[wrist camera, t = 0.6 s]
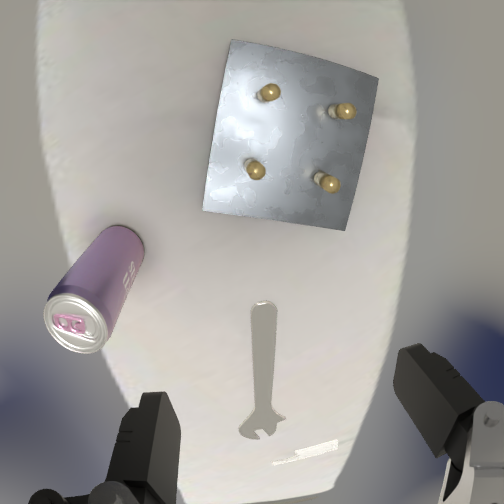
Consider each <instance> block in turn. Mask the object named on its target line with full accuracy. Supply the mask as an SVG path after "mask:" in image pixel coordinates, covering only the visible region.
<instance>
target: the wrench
mask: <svg viewBox="0 0 504 504" xmlns="http://www.w3.org/2000/svg"><path fill="white" fill-rule="evenodd" d="M276 326H277V308H276V306H275V305H274V304H273V303H272V302H269V301H260V302H257V303H256V304H255V305H254V306H253V307H252V309H251V331H252V354H253V376H254V398H255V407H254V409H253V411H252V412H251V414H250V415H249V416H248V417H247V418H246V419H245V420H244V421H243V422H242V423H241V424H240V425H239V433H240V434H241V435H242V436H244V437H246V438H249V439H260V438H259V436H258V435H257V434H256V433H255V432H254V431H255V430H257V429H263V430H264V431H265V432H266V433H267V434H268V435H269V436H271V435H272V434H273V433H274V432H275V431H276V424H277V423H278V422H280V421H282V420H285V419H286V417H285V416H282V415H281V414H279V413H277V412H276V411H275V410H274V409H273V407H272V405H271V398H272V386H273V373H274V360H275V344H276Z"/></svg>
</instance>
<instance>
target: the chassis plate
mask: <svg viewBox="0 0 504 504" xmlns="http://www.w3.org/2000/svg"><path fill="white" fill-rule="evenodd" d="M378 80H379V78H376V77H374V76H371V75H368V74H366V73H363V72H360V71H357V70H355V69H352V68H349V67H346V66H343V65H339V64H336V63H333V62H330V61H327V60H323V59H320V58H316V57H313V56H309V55H305V54H301V53H297V52H293V51H289V50H285V49H281V48H276V47H271V46H267V45H262V44H256V43H251V42H245V41H239V40H233V39H232V40H231V45H230V50H229V54H228V59H227V64H226V69H225V74H224V79H223V85H222V90H221V95H220V101H219V106H218V112H217V117H216V123H215V129H214V135H213V141H212V147H211V154H210V160H209V167H208V173H207V180H206V187H205V194H204V201H203V209H202V211H208V212H216V213H224V214H232V215H239V216H247V217H254V218H261V219H269V220H276V221H283V222H289V223H296V224H303V225H310V226H316V227H323V228H329V229H335V230H342V231H345V229H346V225H347V221H348V218H349V214H350V210H351V206H352V202H353V199H354V195H355V191H356V187H357V182H358V178H359V174H360V170H361V166H362V161H363V157H364V152H365V148H366V143H367V138H368V134H369V129H370V124H371V119H372V113H373V108H374V103H375V97H376V92H377V86H378Z"/></svg>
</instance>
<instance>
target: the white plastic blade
mask: <svg viewBox="0 0 504 504" xmlns="http://www.w3.org/2000/svg"><path fill="white" fill-rule="evenodd" d="M336 449H338V439H335V440H332V441H329V442H325V443H322V444H319V445H315V446H311V447H308V448H304V449H300V450H296V451H294V452H296V453H295V454H294V457H291V458H287V459H282V460H277V461H272V464H273V466H274V465H278V464H283V463H287V462H292V461H296V460H300V459H304V458H308V457H312V456H316V455H319V454H323V453H326V452H329V451H333V450H336Z"/></svg>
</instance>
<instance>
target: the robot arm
mask: <svg viewBox="0 0 504 504" xmlns="http://www.w3.org/2000/svg"><path fill="white" fill-rule="evenodd" d="M393 384H394V385H393V386H394V391H395V394H396V395H397V397H398V399H399V400H400V401H401V403H402V405H403V407H404V408H405V410H406V411H407V413H408V414H409V416H410V417H411V419H412V420H413V422H414V424H415V425H416V427H417V428H418V430H419V432H420V433H421V435H422V436H423V438H424V440H425V441H426V443H427V444H428V446H429V448H430V449H431V451H432V453H433V454H434V456H435V458H438V457H440V456H442V455H444V454H446V453H447V454H448V456H449V457H450V458H449V460H448V463H447V467H446V472H445V477H444V482H443V486H442V490H441V494H440V498H439V502H438V504H504V405H502V404H501V403H499V402H494V401H489V402H485V401H484V400H483V399H482V398H481V397H480V396H479V394H478V393H477V392H476V391H475V390H474V389H473V388H472V387H471V386H470V384H469V383H468V382H467V381H466V380H465V379H464V378H463V377H462V376H460V373H459V372H458V371H457V370H456V369H454V367H453V366H452V365H451V364H450V363H449V362H448V361H447V359H446V358H444V357H442V356H440V355H438V354H436V353H434V352H433V353H430V352H429V351H428V350H427V349H426V348H425V347H424V346H423V345H422V344H420V343H417V344H414V345H411V346H408V347H405V348H402V349H400V350H399V353H398V358H397V364H396V370H395V375H394V380H393ZM180 441H181V429H180V424H179V421H178V418H177V416H176V414H175V411H174V409H173V407H172V404H171V402H170V400H169V397H168V395H167V393H166V392H147V393H143V394H142V396H141V400H140V404H139V408H130V409H129V411H128V412H127V413H126V414H125V416H124V417H123V418H122V421H121V425H120V428H119V433H118V435H117V439H116V443H115V446H114V450H113V454H112V457H111V461H110V465H109V469H108V473H107V477H106V480H105V482H103V483H100V484H99V485H97V486H96V487H94V488H93V489H92V491H91V492H90V494H88V495H83V496H75V497H66V498H63V497H62V496H61V495H60V494H59V493H57V492H56V491H54V490H51V489H42V490H39V491H37V492H36V493H34V494H33V495H32V496H31V498H30V500H29V503H28V504H176V493H177V478H178V465H179V452H180Z"/></svg>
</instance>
